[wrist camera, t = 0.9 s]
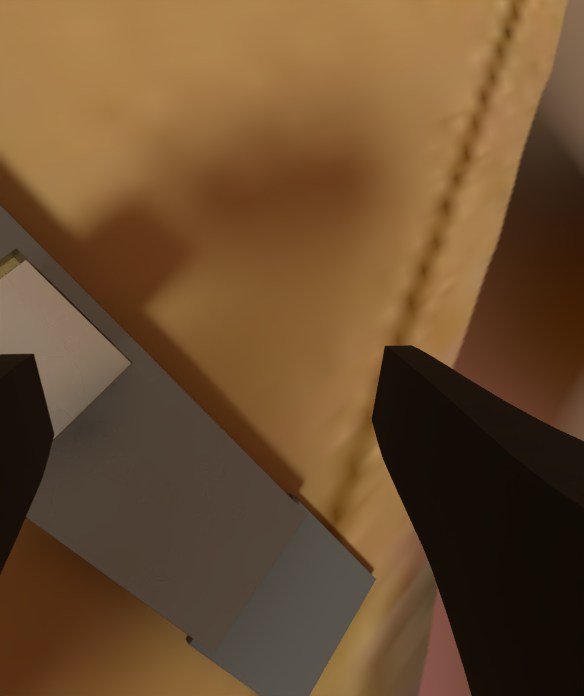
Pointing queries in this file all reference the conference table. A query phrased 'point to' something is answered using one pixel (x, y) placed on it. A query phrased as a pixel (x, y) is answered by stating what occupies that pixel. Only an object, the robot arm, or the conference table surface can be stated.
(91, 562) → the rail
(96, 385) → the pale grey square block
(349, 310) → the conference table surface
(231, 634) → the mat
